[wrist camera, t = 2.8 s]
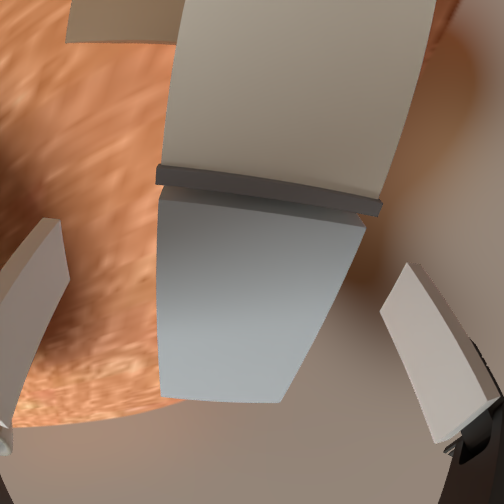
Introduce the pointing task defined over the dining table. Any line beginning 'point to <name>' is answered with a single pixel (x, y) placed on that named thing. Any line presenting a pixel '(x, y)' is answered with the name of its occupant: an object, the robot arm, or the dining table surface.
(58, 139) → the dining table surface
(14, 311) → the robot arm
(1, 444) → the decorative bowl
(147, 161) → the dining table surface
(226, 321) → the stub
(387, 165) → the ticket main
